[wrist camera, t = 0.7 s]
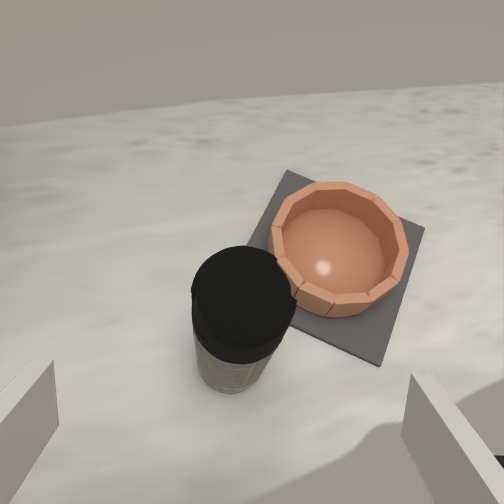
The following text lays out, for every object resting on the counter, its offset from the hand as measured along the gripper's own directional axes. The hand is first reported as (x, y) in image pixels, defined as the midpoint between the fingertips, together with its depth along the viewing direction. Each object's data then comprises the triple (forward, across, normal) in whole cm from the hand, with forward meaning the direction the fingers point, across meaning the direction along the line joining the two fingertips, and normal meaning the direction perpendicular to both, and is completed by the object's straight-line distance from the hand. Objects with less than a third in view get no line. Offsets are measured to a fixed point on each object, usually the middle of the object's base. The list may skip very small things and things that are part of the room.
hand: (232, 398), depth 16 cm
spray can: (+26, 0, -13) cm, 29 cm away
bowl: (+33, +10, -4) cm, 35 cm away
